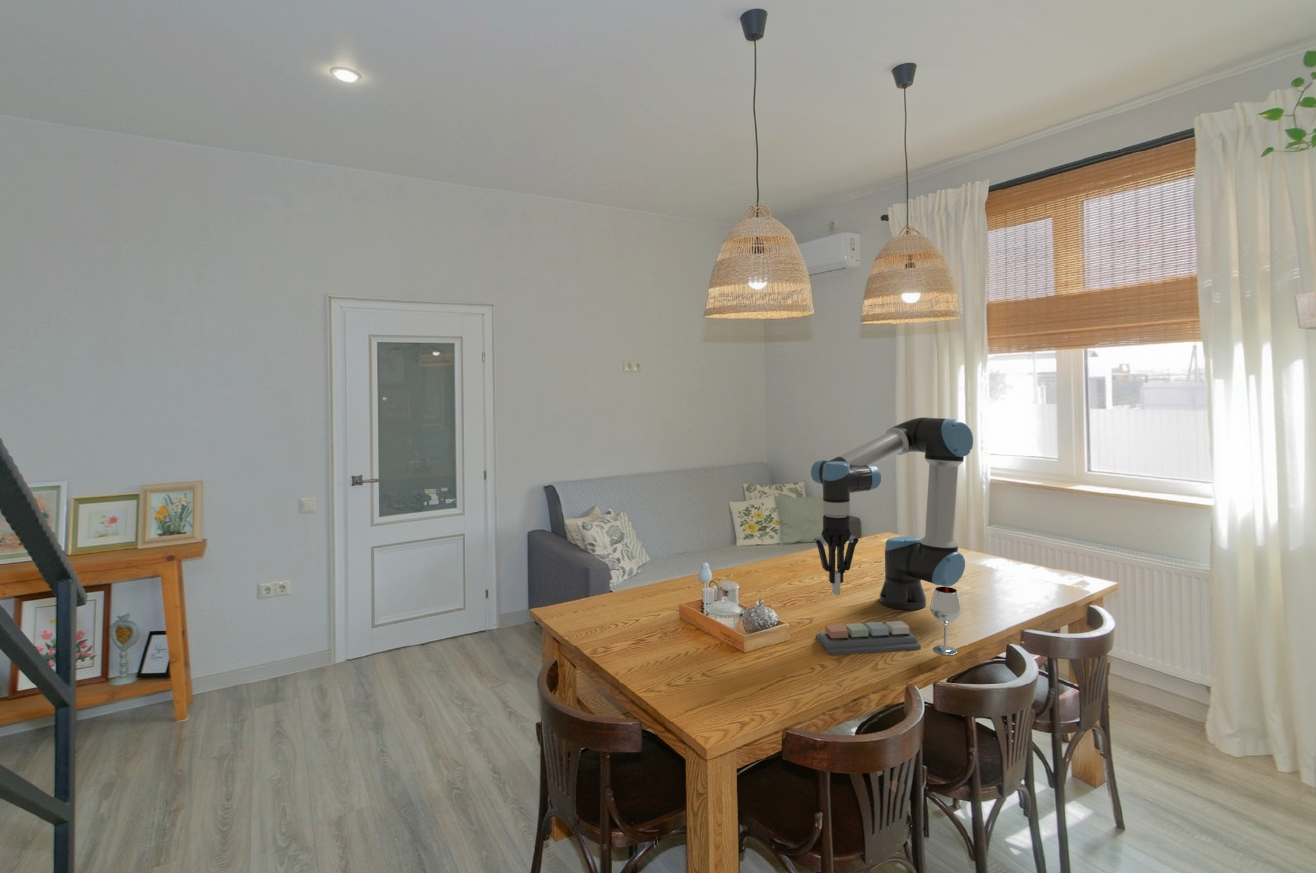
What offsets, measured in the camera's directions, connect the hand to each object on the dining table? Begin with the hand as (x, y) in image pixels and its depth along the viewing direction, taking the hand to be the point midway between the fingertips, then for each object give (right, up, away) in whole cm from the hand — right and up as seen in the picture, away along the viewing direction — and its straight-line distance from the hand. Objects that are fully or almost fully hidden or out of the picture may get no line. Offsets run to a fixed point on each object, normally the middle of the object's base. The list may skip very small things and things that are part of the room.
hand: (836, 593), depth 198 cm
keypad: (+10, -15, +2) cm, 18 cm away
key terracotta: (0, -13, +1) cm, 13 cm away
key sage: (+7, -12, +2) cm, 14 cm away
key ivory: (+19, -12, +3) cm, 23 cm away
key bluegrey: (+13, -12, +2) cm, 18 cm away
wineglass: (+30, -16, -4) cm, 34 cm away
